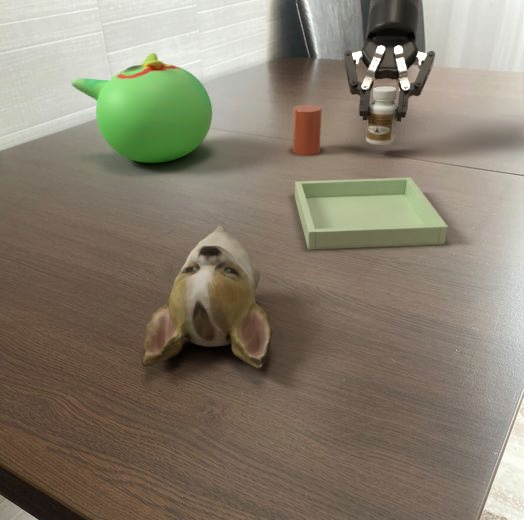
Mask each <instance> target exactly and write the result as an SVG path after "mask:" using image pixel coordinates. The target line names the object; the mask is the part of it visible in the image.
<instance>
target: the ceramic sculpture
mask: <svg viewBox="0 0 524 520" xmlns="http://www.w3.org/2000/svg"><path fill="white" fill-rule="evenodd" d="M260 278H261V273H260V268H259V267H258V266H257V265H256V263H255V262H254V260H253V258H252V256H251V255H250V253H249V252H248V251H247V249H246V248H245V247H244V246H243V245H242V243H241V242H240V241H239V240H238V239H237V238H235V237H234V235H232V234H230V232H228V231H227V229H226V228H225V227H224V226H223V225H219V226H217V227H216V228H215V230H214V231H212V232H211V233H210V234H208V235H207V236H206V237H205V238H202V239H201V240H200V241H199V242H198V243H197V245H196V246H195V247H194V248H193V249H192V250H191V251H190V252H189V254H188V256H187V258H186V260H185V263H184V264H183V266H182V267H181V268H180V272H179V273H178V274H177V276H176V277H175V279H174V281H173V286H172V289H171V291H170V295H169V299H168V301H167V303H166V304H164V305H163V306H161V307H159V308H158V309H156V310H155V311H154V312H153V313H152V314H151V317H150V319H149V322H148V323H147V325H146V326H145V329H144V330H145V332H144V339H143V341H144V342H143V353H142V354H143V357H142V359H141V365H142V366H143V367H150V366H153V365H156V364H159V363H162V362H164V361H167V360H169V359H171V358H173V357H176V356H177V355H178V354H179V353H180V352H181V351H182V349H183V346H184V340H185V339H186V340H187V341H189V342H190V343H192V344H194V345H197V346H202V347H207V348H208V347H209V348H212V347H213V348H214V347H223V346H228V345H231V351H232V353H233V355H234V356H235V357H237V358H239V359H240V360H242V361H243V362H245V363H246V364H249V366H252V367H253V368H255V369H257V370H260V369H262V367H263V366H264V364H265V362H266V361H267V359H268V357H269V354H270V350H271V349H270V348H271V343H272V337H273V328H272V326H271V318H270V316H269V314H268V312H266V310H265V309H263V307H261V306H260V305H258V304H257V302H256V299H255V297H256V290H257V288H258V286H259V282H260V280H261V279H260Z"/></svg>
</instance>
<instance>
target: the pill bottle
mask: <svg viewBox="0 0 524 520" xmlns="http://www.w3.org/2000/svg"><path fill="white" fill-rule="evenodd" d="M397 92H398V91H397V87H394V86H391V85H390V86H389V85H382V86H381V85H380V86H376V87H375V86H374V87H373V88H372V96H371V97H372V100H373V102H371V103H369V110H368V120H366V121H367V122H366V135H365V141H366V142H367V143H368V144H370V145H374V146H388V145H392V144H393V143H394V141H395V138H396V130H397V129H396V128H397V121H396V119H397V110H398V103H396V102H395V101H396V99H397Z"/></svg>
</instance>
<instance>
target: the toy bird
mask: <svg viewBox="0 0 524 520" xmlns="http://www.w3.org/2000/svg"><path fill="white" fill-rule="evenodd" d="M70 84H71V86H72V87H73V88H75V89H76V90H77V91H79V92H81V93H83V94H85V95H86V96H88V97H90V98H92V99H94V100H95V101H97V102H96V107H95V108H96V109H95V116H96V122H97V126H98V129H99V131H100V134H101V135H102V137H103V139H104V140H105V142H106V143H107V144H108V145H109V147H110V148H111V149H112V150H114V152H116V153H117V154H119V155H120V156H122V157H124V158H126V159H128V160H131V161H133V162H137V163H144V164H160V163H167V162H172V161H175V160H177V159H180V158H182V157H184V156H187V155H189V154H190V153H192V152H193V151H194V150H195V149H197V148H198V147H199V146H200V145H201V144H202V143H203V141H204V140H205V139H206V138H207V136H208V134H209V131H210V128H211V125H212V118H213V107H212V106H213V105H212V101H211V98H210V96H209V93H208V92H207V90H206V88H205V86H204V85H203V83H201V81H200V80H199V79H198V78H197V77H196V76H195V75H194V74H192V73H191V72H190V71H188V70H187V69H184V68H182V67H180V66H176V65H174V64H169V63H164V62H163V61H161V60H159V58H158V55H157V54H156V53H154V52H153V53H150V54H148V56H146V57H145V58H144V60H143V61H142V62H141V64H138V65H137V64H136V65H132V66H129V67H127V68H126V69H124V70H122V71H120V72H118V73H117V74H115V75H114V76H112V77H111V78H109V79H96V78H74V79H72V80H71V81H70Z"/></svg>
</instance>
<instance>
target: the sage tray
mask: <svg viewBox="0 0 524 520" xmlns="http://www.w3.org/2000/svg"><path fill="white" fill-rule="evenodd" d="M294 200H295V203H296V207H297V212H298V216H299V220H300V223H301V227H302V231H303V234H304V238H305V243H306V246H307V250H330V249H331V250H332V249H333V250H334V249H357V248H359V249H360V248H381V247H383V248H385V247H407V246H408V247H410V246H430V245H431V246H433V245H445V244H446V239H447V233H448V228H449V226H448V225H447V223H446V222H445V221H444V219H443V218H442V217H441V215H440V214H439V212H438V211H437V210H436V209H435V207H434V206H433V205H432V204H431V202H430V201H429V200H428V198H427V197H426V195H425V194H424V193H423V191H422V190H421V189H420V188H419V185H417V184H416V182H415V181H414V180H413V178H412V177H385V178H358V179H357V178H356V179H353V178H352V179H329V180H328V179H327V180H303V181H302V180H300V181H299V180H298V181H294Z"/></svg>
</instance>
